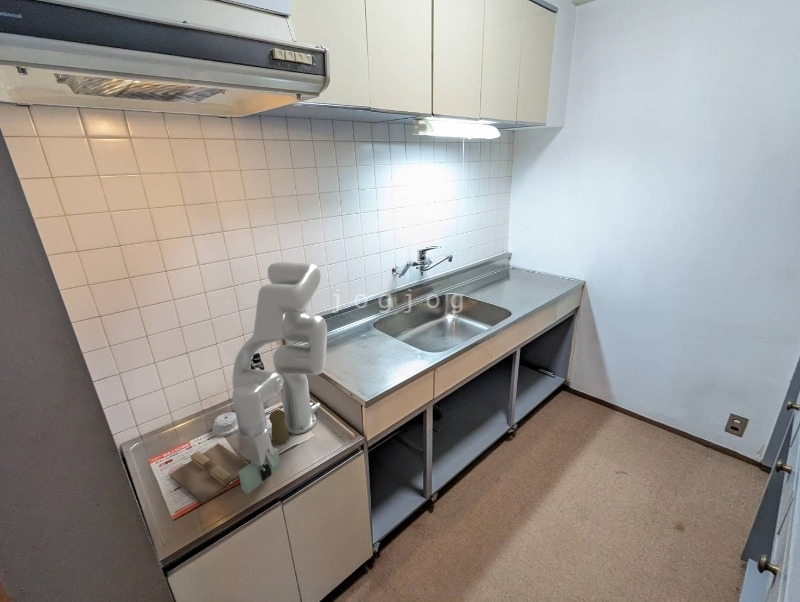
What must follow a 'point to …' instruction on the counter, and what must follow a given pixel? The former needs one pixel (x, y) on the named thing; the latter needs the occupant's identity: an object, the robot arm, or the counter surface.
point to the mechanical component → (225, 424)
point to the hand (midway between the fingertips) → (261, 473)
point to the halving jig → (209, 472)
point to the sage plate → (256, 473)
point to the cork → (279, 427)
